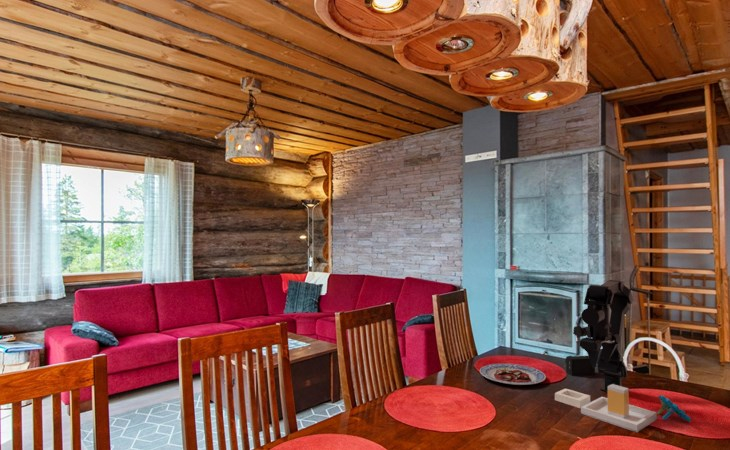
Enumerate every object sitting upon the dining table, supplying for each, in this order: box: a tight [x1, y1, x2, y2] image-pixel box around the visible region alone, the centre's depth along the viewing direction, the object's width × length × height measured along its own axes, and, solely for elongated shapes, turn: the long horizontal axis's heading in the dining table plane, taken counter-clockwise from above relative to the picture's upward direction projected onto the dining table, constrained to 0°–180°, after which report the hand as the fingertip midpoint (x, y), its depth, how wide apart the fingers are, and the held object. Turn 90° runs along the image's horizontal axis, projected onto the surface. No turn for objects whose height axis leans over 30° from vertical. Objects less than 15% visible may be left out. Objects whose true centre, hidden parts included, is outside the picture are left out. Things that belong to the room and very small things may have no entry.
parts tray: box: [580, 396, 658, 433], centre depth 144 cm, size 15×17×2 cm
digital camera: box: [564, 355, 596, 376], centre depth 187 cm, size 10×5×7 cm, turn 96°
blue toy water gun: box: [656, 394, 692, 423], centre depth 142 cm, size 11×6×10 cm
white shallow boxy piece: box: [554, 388, 591, 409], centre depth 157 cm, size 8×9×2 cm
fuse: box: [607, 384, 630, 419], centre depth 144 cm, size 4×5×9 cm
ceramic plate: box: [479, 363, 547, 386], centre depth 182 cm, size 26×26×3 cm
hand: (600, 364), depth 157 cm, fingers open, 9 cm apart
